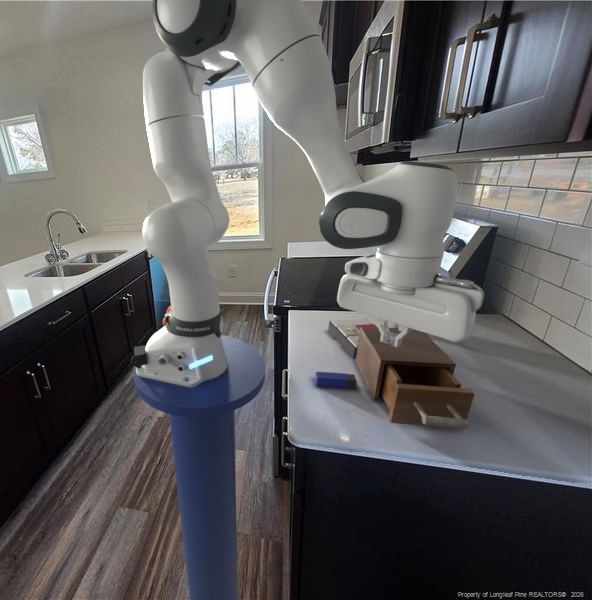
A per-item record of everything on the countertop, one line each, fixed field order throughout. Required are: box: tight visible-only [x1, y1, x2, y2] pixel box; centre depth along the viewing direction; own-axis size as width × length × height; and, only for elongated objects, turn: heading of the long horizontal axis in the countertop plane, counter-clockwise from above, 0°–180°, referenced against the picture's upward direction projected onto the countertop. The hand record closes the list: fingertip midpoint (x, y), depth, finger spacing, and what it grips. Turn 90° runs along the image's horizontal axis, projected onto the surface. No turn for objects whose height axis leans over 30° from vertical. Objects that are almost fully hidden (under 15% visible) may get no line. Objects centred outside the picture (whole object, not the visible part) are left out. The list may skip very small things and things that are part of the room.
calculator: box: [327, 317, 378, 360], centre depth 85 cm, size 11×4×15 cm
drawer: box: [380, 364, 476, 431], centre depth 59 cm, size 18×11×8 cm, turn 168°
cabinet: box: [355, 326, 457, 402], centre depth 68 cm, size 15×13×10 cm
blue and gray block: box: [314, 371, 358, 390], centre depth 70 cm, size 8×2×2 cm, turn 78°
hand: (390, 343), depth 57 cm, fingers closed
